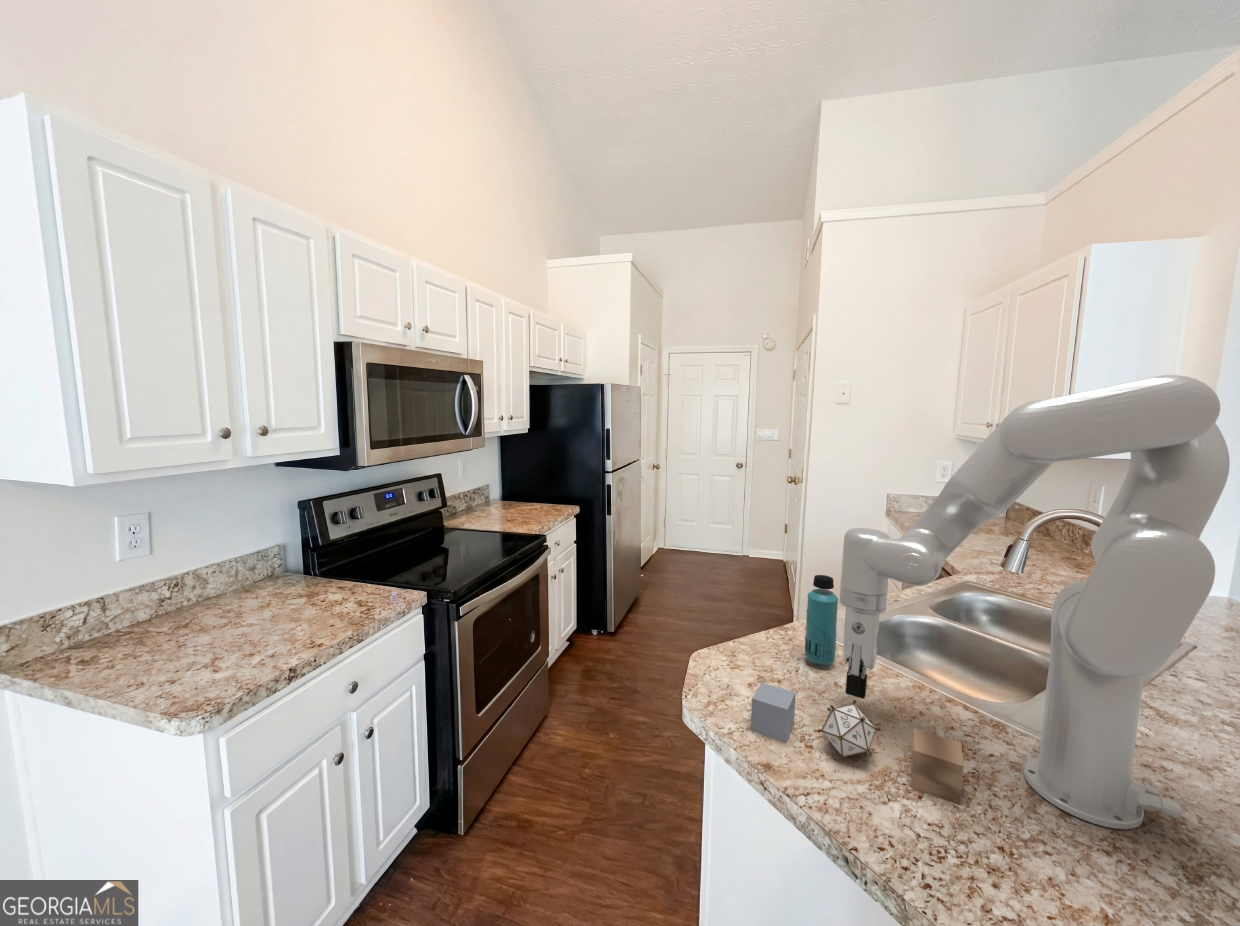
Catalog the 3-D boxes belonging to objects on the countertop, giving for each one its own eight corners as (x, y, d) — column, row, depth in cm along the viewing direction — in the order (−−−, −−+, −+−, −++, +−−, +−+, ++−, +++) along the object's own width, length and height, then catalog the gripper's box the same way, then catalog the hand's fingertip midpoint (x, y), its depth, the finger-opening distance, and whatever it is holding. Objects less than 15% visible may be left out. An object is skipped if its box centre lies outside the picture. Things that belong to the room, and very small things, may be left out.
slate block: (793, 724, 86) (795, 692, 85) (785, 743, 81) (787, 709, 80) (760, 713, 89) (761, 682, 89) (750, 730, 84) (751, 698, 84)
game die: (858, 781, 78) (894, 760, 71) (807, 755, 79) (837, 733, 72) (858, 727, 84) (890, 703, 78) (810, 704, 86) (838, 679, 79)
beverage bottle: (837, 662, 108) (842, 575, 106) (832, 675, 103) (837, 583, 101) (806, 654, 112) (811, 569, 110) (800, 666, 106) (805, 577, 104)
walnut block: (957, 779, 73) (960, 742, 73) (960, 805, 68) (963, 766, 68) (911, 763, 77) (914, 728, 76) (910, 788, 72) (913, 750, 71)
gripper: (883, 617, 79) (875, 723, 80) (888, 589, 91) (881, 682, 93) (833, 606, 82) (826, 707, 84) (845, 581, 95) (839, 670, 97)
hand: (855, 694), depth 89 cm, fingers closed
